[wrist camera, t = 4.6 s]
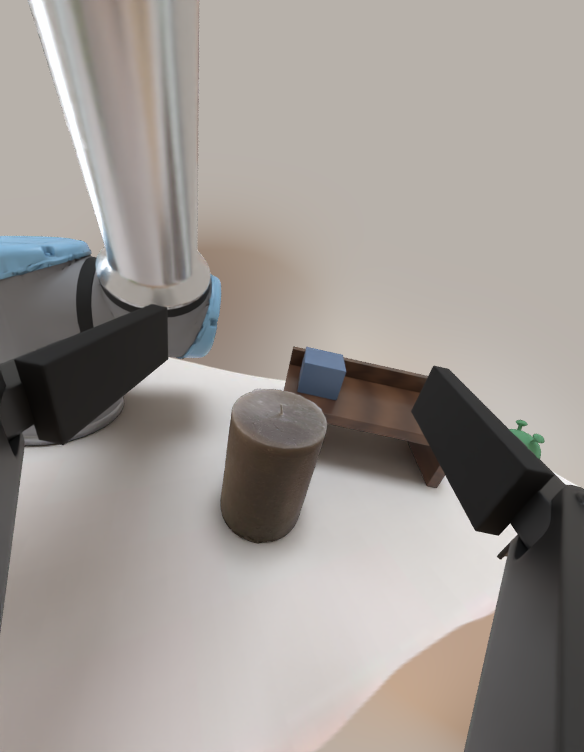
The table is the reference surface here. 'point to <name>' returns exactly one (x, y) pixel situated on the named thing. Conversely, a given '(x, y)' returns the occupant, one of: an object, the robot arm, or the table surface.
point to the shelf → (375, 406)
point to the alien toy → (528, 438)
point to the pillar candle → (269, 462)
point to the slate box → (321, 373)
